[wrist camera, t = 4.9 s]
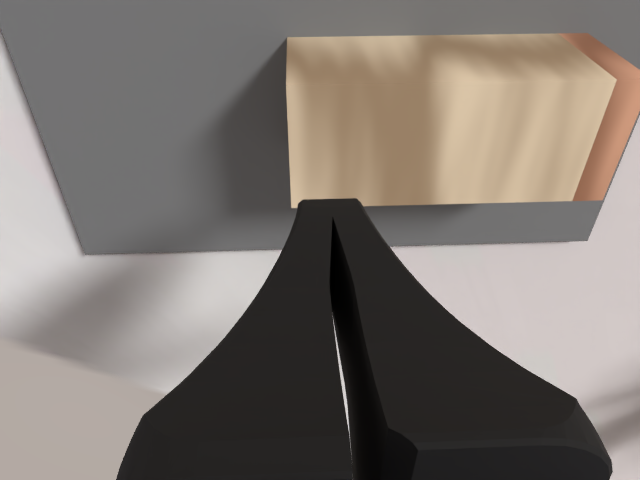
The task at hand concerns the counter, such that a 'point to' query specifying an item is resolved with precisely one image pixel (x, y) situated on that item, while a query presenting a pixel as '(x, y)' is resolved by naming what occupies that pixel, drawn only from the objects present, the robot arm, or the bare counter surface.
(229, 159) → the rubber mat
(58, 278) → the counter surface
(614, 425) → the counter surface
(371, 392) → the robot arm
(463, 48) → the long block
